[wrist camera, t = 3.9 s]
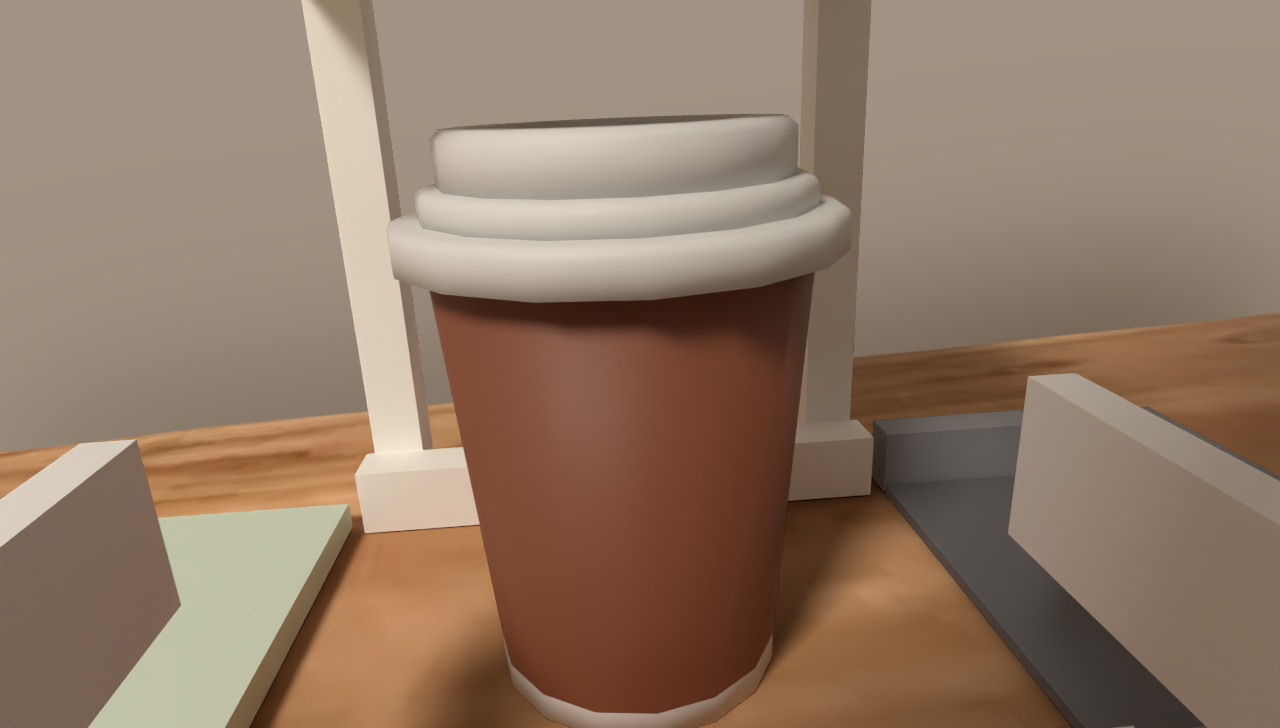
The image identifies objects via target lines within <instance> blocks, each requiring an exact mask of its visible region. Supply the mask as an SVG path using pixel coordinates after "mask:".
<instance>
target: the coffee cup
mask: <svg viewBox="0 0 1280 728" xmlns="http://www.w3.org/2000/svg"><path fill="white" fill-rule="evenodd" d="M430 146H431V153H432V162H433V171H434V179H435V184H433V185H430V186H427V187H424V188H422V189H420V190H418V191H417V193H416V196H415V205H416V211H414V212H412V213H410V214H407V215H405V216H402V217H400V218H397V219H395V220H393V221H391V222H389V223H388V227H387V230H386V231H387V238H388V245H389V252H390V259H391V265H392V270H393V276H394V279H396V280H399V281H402V282H405V283H408V284H411V285H414V286H418V287H421V288H424V289H427V290H430V294H431V300H432V304H433V309H434V314H435V318H436V323H437V328H438V332H439V337H440V341H441V346H442V351H443V356H444V360H445V365H446V370H447V374H448V379H449V384H450V389H451V393H452V398H453V403H454V407H455V412H456V417H457V421H458V426H459V431H460V435H461V440H462V445H463V449H464V454H465V459H466V463H467V468H468V473H469V477H470V482H471V487H472V491H473V496H474V501H475V505H476V510H477V515H478V519H479V524H480V529H481V533H482V538H483V543H484V547H485V552H486V557H487V561H488V566H489V571H490V575H491V580H492V585H493V589H494V594H495V599H496V604H497V608H498V613H499V618H500V622H501V627H502V632H503V641H504V650H505V655H506V659H507V663H508V667H509V671H510V674H511V678H512V682H513V686H514V688H515V689H516V690H517V691H518V692H519V693H520V694H521V695H522V696H523V697H524V698H525V699H526V700H527V701H528V702H529V703H530V704H531V705H532V706H533V707H534V708H535V709H537V710H538V711H539V712H540V713H541V714H542V715H543V716H544V717H545V718H546V719H549V720H551V721H554V722H557V723H560V724H562V725H565V726H568V727H571V728H696V727H699V726H703V725H706V724H710V723H713V722H716V721H717V720H718V719H720V718H721V717H722V716H724V715H725V714H726V713H728V712H729V711H730V710H732V709H733V708H734V707H736V706H737V705H738V704H740V703H741V702H742V701H744V700H745V699H746V698H748V697H749V696H750V695H752V694H753V693H754V692H755V691H756V689H757V687H758V685H759V683H760V680H761V678H762V676H763V674H764V672H765V670H766V668H767V666H768V664H769V662H770V660H771V658H772V639H773V626H774V617H775V609H776V600H777V592H778V583H779V575H780V566H781V557H782V549H783V540H784V532H785V523H786V515H787V506H788V497H789V489H790V480H791V472H792V463H793V454H794V446H795V437H796V429H797V420H798V412H799V403H800V394H801V386H802V377H803V369H804V360H805V352H806V343H807V334H808V326H809V317H810V309H811V300H812V292H813V283H814V274H815V272H817V271H820V270H824V269H828V268H829V267H831V266H832V265H833V264H834V263H835V262H837V261H838V260H839V259H840V258H841V257H843V256H844V255H845V254H846V253H847V252H849V251H850V250H851V239H852V218H853V217H852V214H851V212H850V209H849V208H848V207H846V206H845V205H844V204H842V203H841V202H840V201H838V200H837V199H835V198H834V197H832V196H829V195H826V194H821V193H820V185H819V182H818V180H817V178H816V177H815V176H813V175H812V174H810V173H809V172H807V171H806V170H803V169H801V168H797V164H798V162H797V161H798V124H797V123H796V122H795V121H794V120H793V119H792V118H791V117H790V116H788V115H783V114H724V115H723V114H721V115H720V114H719V115H682V116H652V117H626V118H601V119H580V120H560V121H540V122H524V123H506V124H490V125H478V126H464V127H454V128H446V129H438V130H437V131H436V132H435V133H434V135H433V136H432V137H431V138H430Z"/></svg>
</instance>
